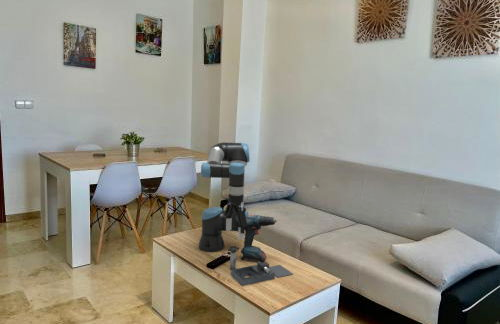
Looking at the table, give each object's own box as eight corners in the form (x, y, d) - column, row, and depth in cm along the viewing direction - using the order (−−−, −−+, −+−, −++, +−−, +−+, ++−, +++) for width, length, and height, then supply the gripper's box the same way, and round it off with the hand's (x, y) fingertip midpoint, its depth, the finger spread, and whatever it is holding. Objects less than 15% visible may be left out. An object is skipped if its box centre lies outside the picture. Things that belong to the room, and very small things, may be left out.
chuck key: (226, 268, 197) (226, 247, 195) (236, 266, 200) (237, 245, 198) (229, 271, 194) (229, 249, 192) (239, 269, 197) (240, 247, 195)
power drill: (274, 264, 205) (276, 219, 201) (232, 259, 209) (233, 215, 206) (276, 258, 214) (278, 214, 210) (236, 253, 218) (237, 210, 214)
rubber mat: (265, 268, 200) (265, 267, 200) (279, 265, 204) (279, 264, 204) (278, 277, 190) (278, 277, 189) (292, 274, 194) (293, 273, 194)
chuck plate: (230, 275, 190) (231, 264, 189) (262, 269, 199) (262, 258, 198) (242, 286, 180) (242, 274, 179) (274, 278, 189) (275, 267, 188)
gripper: (218, 189, 200) (217, 228, 203) (241, 200, 178) (239, 244, 182) (231, 187, 203) (230, 226, 207) (255, 199, 182) (253, 241, 186)
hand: (234, 234), depth 194 cm, fingers open, 13 cm apart
